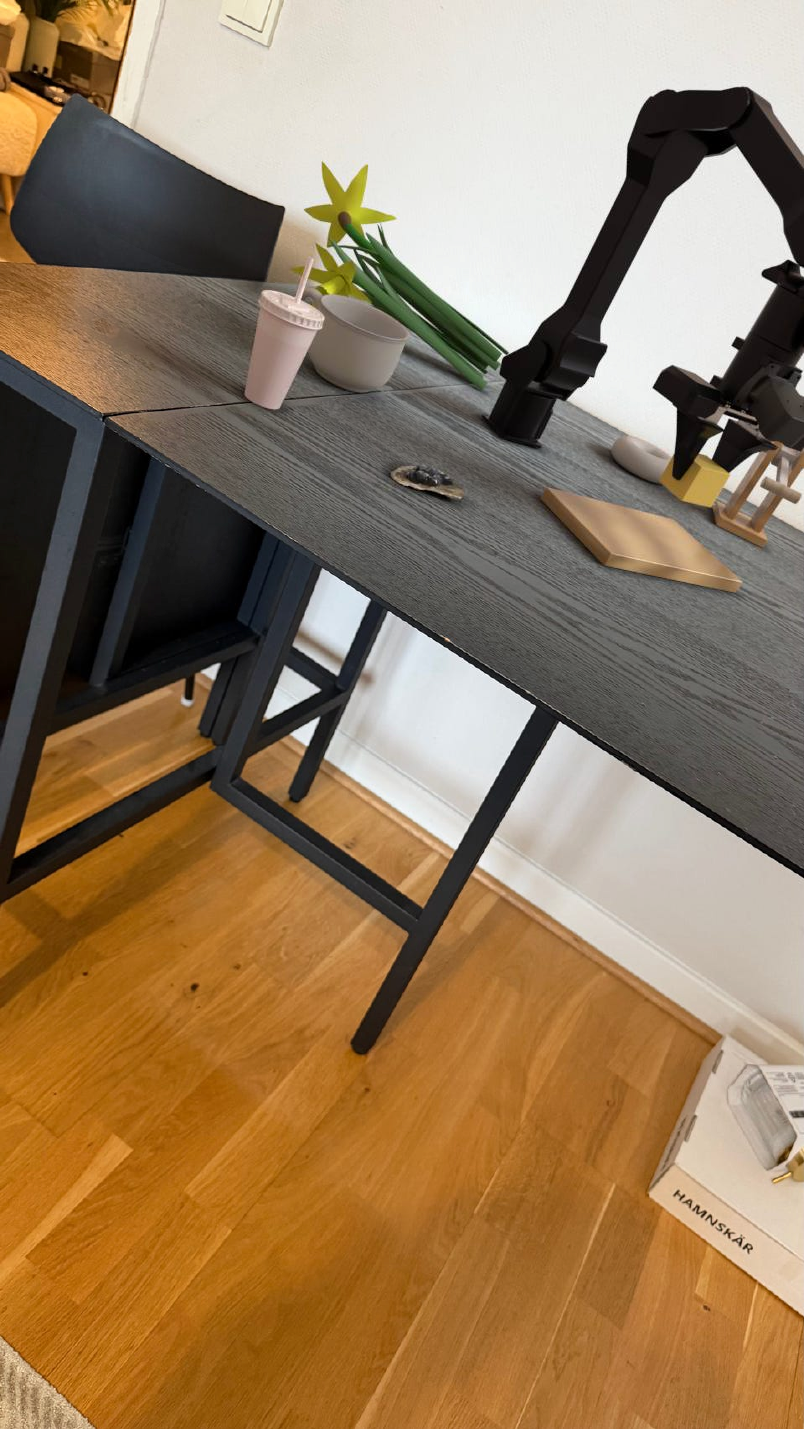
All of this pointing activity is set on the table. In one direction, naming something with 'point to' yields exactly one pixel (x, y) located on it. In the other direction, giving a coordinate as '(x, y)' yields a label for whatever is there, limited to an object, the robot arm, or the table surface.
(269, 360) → the smoothie
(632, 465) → the donut
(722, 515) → the wooden dowel stand
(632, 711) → the table surface
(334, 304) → the teacup
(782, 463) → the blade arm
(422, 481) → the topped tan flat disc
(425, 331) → the daffodil flowers
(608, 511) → the cutting board
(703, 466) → the yellow cube
